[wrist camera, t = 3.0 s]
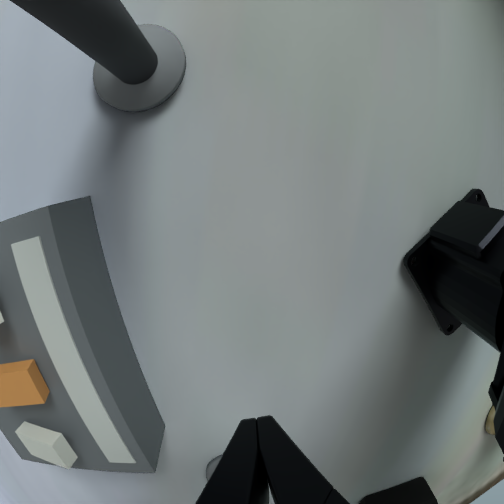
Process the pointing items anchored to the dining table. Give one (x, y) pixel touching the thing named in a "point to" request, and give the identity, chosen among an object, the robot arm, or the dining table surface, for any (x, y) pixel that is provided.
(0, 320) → the pale grey rectangular block
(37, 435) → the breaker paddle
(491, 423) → the hand bell
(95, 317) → the board
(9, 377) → the block
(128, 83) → the post
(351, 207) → the dining table surface
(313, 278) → the dining table surface
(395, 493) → the portable radio
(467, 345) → the dining table surface
